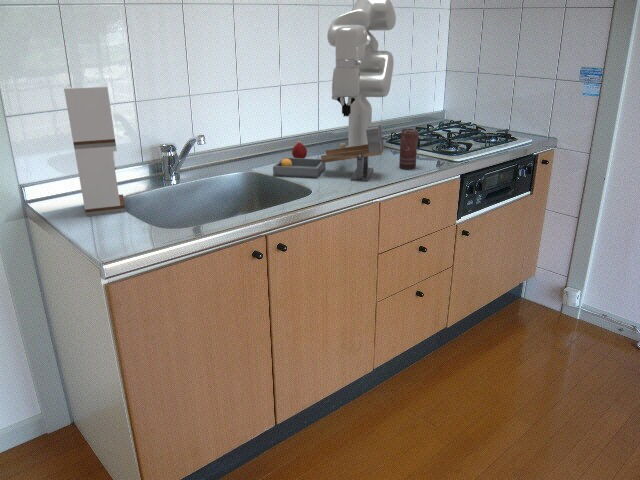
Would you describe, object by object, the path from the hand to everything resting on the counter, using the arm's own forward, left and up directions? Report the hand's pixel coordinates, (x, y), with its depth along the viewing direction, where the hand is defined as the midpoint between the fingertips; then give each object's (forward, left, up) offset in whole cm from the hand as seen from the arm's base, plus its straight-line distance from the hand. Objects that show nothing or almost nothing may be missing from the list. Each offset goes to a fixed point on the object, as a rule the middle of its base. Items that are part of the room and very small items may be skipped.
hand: (346, 115), depth 203 cm
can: (+1, +24, -19) cm, 30 cm away
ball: (+15, -19, -16) cm, 29 cm away
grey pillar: (+66, -60, -19) cm, 91 cm away
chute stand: (+15, +9, -18) cm, 25 cm away
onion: (-1, -18, -19) cm, 26 cm away
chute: (+11, +5, -11) cm, 17 cm away
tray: (+15, -14, -18) cm, 28 cm away
